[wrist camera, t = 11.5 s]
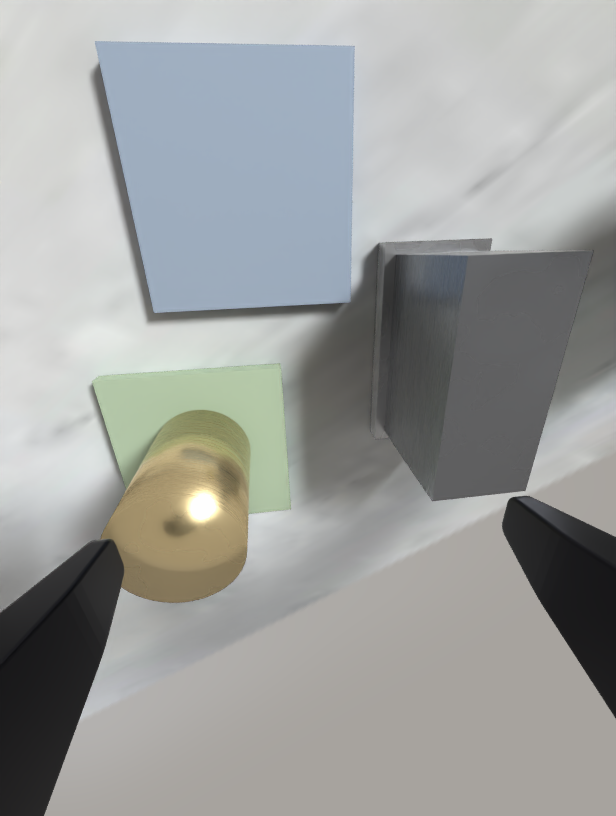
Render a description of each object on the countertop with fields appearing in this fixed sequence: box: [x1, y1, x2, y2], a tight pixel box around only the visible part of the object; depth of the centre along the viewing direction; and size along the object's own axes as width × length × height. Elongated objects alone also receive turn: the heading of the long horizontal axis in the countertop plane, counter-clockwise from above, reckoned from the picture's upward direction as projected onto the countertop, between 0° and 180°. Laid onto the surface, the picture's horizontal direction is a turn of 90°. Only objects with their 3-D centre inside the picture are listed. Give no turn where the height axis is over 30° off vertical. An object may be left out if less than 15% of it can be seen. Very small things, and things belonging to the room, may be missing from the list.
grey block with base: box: [370, 239, 594, 501], centre depth 15 cm, size 5×10×7 cm, turn 2°
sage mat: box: [92, 363, 291, 514], centre depth 19 cm, size 9×9×1 cm
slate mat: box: [95, 41, 355, 313], centre depth 14 cm, size 9×9×1 cm
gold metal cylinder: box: [100, 410, 251, 603], centre depth 15 cm, size 5×5×7 cm
